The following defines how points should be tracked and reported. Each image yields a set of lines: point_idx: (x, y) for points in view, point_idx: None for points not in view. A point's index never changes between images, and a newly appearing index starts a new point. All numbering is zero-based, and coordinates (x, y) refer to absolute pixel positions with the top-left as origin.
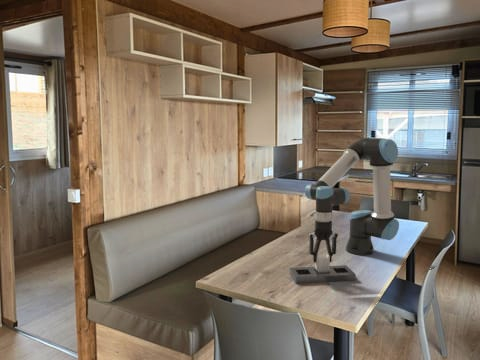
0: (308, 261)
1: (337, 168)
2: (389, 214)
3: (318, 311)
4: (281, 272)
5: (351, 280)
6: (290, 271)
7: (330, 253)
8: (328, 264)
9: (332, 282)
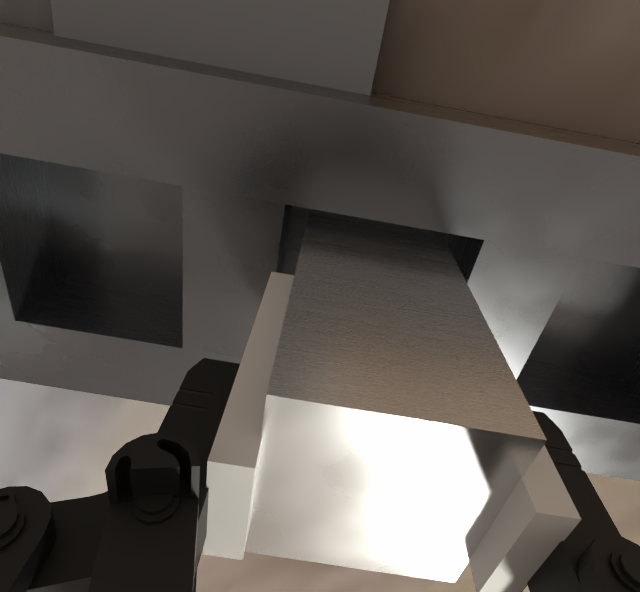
0: (280, 562)
1: None
2: None
3: None
4: (612, 481)
5: (13, 28)
6: None
7: (155, 540)
8: (293, 298)
9: (313, 64)
